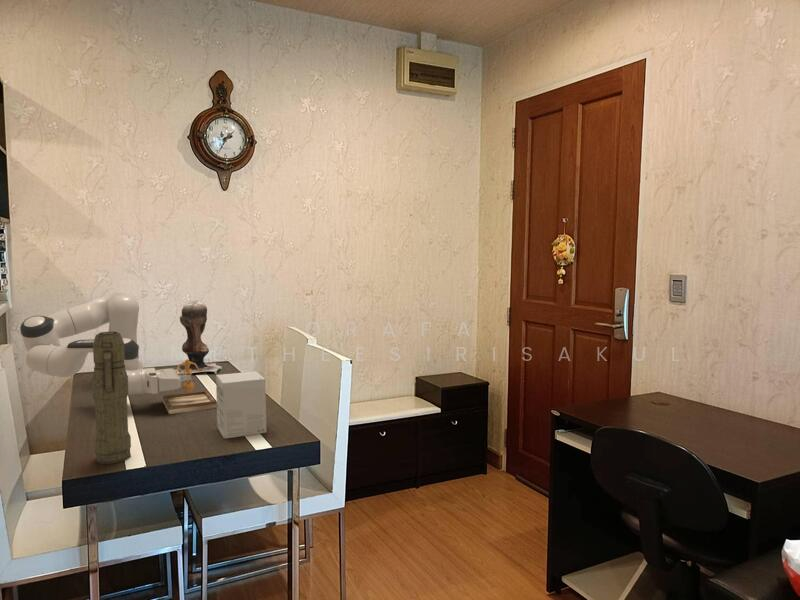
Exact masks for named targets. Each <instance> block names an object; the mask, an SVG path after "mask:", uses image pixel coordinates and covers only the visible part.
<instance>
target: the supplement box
mask: <svg viewBox="0 0 800 600" xmlns="http://www.w3.org/2000/svg"><path fill="white" fill-rule="evenodd" d="M215 381H216V382H215V385H216V386H215V388H216V391H215V393H216V427H217V429H218V431H219V433H220V435H221V436H222V437H223V439H232V438H238V437H244V436H245V437H246V436H252V435H258V434H266V433H268V432H267V399H266V398H267V397H266V393H267V392H266V378H265V377H263V376H262V375H261V374H260V373H259V372H257V371H256V370H254V371H244V372H234V373H233V372H232V373H223V374H216V375H215Z"/></svg>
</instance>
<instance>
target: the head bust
mask: <svg viewBox="0 0 800 600" xmlns="http://www.w3.org/2000/svg"><path fill="white" fill-rule="evenodd" d="M207 314H208V308H207V306H206V304H205V303H203V302H200V301H199V300H191V301H189V302H187V303H186V304H184V305H183V306H182V309H181V315H180V316H179V321H180V325H182V326H183V327H184V328H185V332H186V335H187V336H186V337H187V338H186V341H184V343H183V344H182V347H181V350H182V352H183V353H184V354H186V356H187V359H188V360H189V361H190V362H193V363H195V364H196V365H197V367H198V368H199V371H198V369H197V367H196V366H195V365H194V364H190V367H189V369H191V372H192V374H194V373H208V372H212V373H214V374H216V375H218V374H217V373H218V371H219V370H223V366H220V365H218V364H217V363H215V362H214V363H213V362H212V363H208V362H207V363H206V362H205V358H206V355H208V354H209V352H210V350H209V348H208V345H207V344H205V343H204V342H203V341H202V334H203V333H204V331H205V328H206V323H207V321H208V317H207ZM184 369H185V366H184V365H183V366H182V365H181V366H179V368H178V370H177V373H184ZM174 370H175V372H176V369H174ZM187 373H188V372H187Z"/></svg>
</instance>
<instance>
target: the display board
mask: <svg viewBox="0 0 800 600" xmlns="http://www.w3.org/2000/svg"><path fill="white" fill-rule="evenodd" d="M162 403H163V405H164V407H165V408H166V411H167V413H168V415H172V414H173V415H174V414H181V413H182V414H183V413H189V412H195V411H203V410H211V409H217V400H215V398H214V397H213V396H212V395H211V394H210V393H209V391H208V390H201V391H191V392H184V393H175V394H174V393H173V394H165V395H162Z"/></svg>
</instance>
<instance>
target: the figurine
mask: <svg viewBox="0 0 800 600" xmlns="http://www.w3.org/2000/svg"><path fill="white" fill-rule="evenodd" d="M190 364H194V365H195V366H196V367H197V365H196V364H195V363H193V362H190V361H189V359H188V358H186V359H184V361H183V362H181V363H180V364H178V365H177V367H176V369H175V370H176V373H177V370H178V369H179V367H181V366H182V365H183V366H185V369H184V375H186V374H187V372H188V373H189V374H190V375H191V376H192V375H193V373H192V372H191V369H189V367H190ZM197 369H198V371H199V368H198V367H197ZM182 385H183V386H182V389H183V391H184V392H185V393H191V392H194V389H195V384H194V383H193V382H192V379H191V380H186V381H184V382H183V384H182Z"/></svg>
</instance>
